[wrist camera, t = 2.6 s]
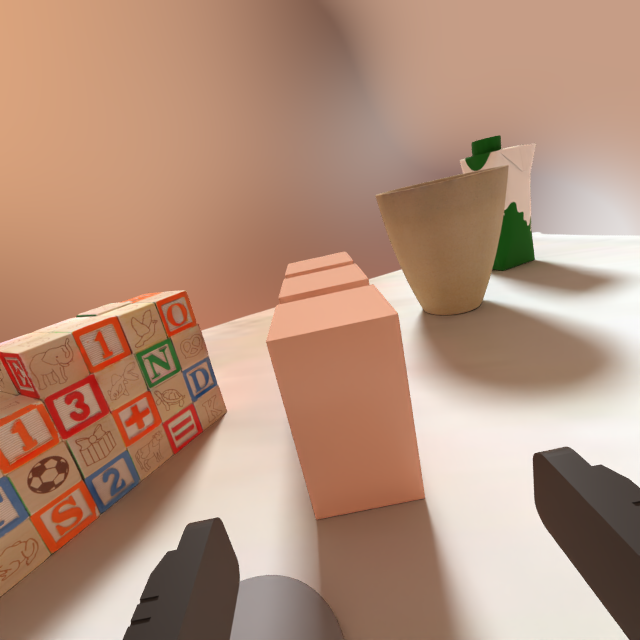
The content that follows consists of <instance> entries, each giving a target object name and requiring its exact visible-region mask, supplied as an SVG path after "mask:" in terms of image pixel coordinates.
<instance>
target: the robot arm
mask: <svg viewBox="0 0 640 640" xmlns="http://www.w3.org/2000/svg"><path fill="white" fill-rule="evenodd" d="M533 476H534V499H535V505H536V509H537V511H538V514H539V516H540V518H541V520H542V522H543V524H544V526H545V527H546V529H547V530H548V532H549V533H550V534H551V536H552V537H553V538H554V540H555V541H556V542H557V544H558V545H559V546H560V548H561V549H562V550H563V552H564V553H565V554H566V556H567V557H568V558H569V560H570V561H571V562H572V564H573V565H574V566H575V568H576V569H577V570H578V572H579V573H580V574H581V576H582V577H583V578H584V580H585V581H586V582H587V584H588V585H589V586H590V588H591V589H592V590H593V592H594V593H595V594H596V596H597V597H598V598H599V600H600V601H601V602H602V604H603V605H604V606H605V608H606V609H607V610H608V612H609V613H610V614H611V616H612V617H613V618H614V620H615V621H616V622H617V624H618V625H619V626H620V628H621V629H622V630H623V632H624V633H625V634H626V636H627V637H628V638H629V640H640V488H639V487H638V486H637V485H636V484H634V483H633V482H632V481H631V480H630V479H628V478H626V477H624V476H622V475H620V474H618V473H616V472H614V471H613V470H611V469H609V468H607V467H605V466H603V465H596V466H591V465H590V464H589V463H587V462H586V461H585V460H584V459H583V458H582V457H581V456H580V455H579V454H578V453H576V452H575V451H574V450H573V449H571V448H569V447H562V448H557V449H553V450H548V451H543V452H538V453H535V454H534V456H533ZM239 582H240V574H239V565H238V560H237V557H236V555H235V552H234V550H233V547H232V545H231V542H230V540H229V537H228V535H227V532H226V530H225V527H224V525H223V522H222V520H221V519H220V518H213V519H208V520H203V521H198V522H193V523H189V524H188V525H187V526H186V528H185V530H184V532H183V535H182V537H181V540H180V542H179V545H178V548H177V550H173V551H168V552H167V553H166V555H165V556H164V557H163V558H162V560H161V561H160V562H159V564H158V565H157V566H156V568H155V569H154V570H153V572H152V573H151V575H150V577H149V579H148V582H147V584H146V586H145V589H144V591H143V593H142V596H141V598H140V604H138V605H137V607H136V610H135V612H134V614H133V617H132V619H131V625H130V627H128V628H127V631H126V633H125V635H124V638H123V640H230V636H231V630H232V625H233V619H234V613H235V608H236V602H237V597H238V591H239Z"/></svg>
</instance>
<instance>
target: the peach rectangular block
mask: <svg viewBox="0 0 640 640" xmlns="http://www.w3.org/2000/svg"><path fill="white" fill-rule="evenodd" d="M352 264H354V263H353V260H352V259H351V257H350V256H349V255H348V254H347V253H346V252H341V253H336V254H331V255H327V256H322V257H318V258H313V259H309V260H304V261H299V262H295V263H290V264H288V266H287V270H286V273H285V277H286V279H287V278H292V277H297V276H301V275H306V274H310V273H315V272H320V271H324V270H329V269H333V268H338V267H343V266H347V265H352Z"/></svg>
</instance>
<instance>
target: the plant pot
mask: <svg viewBox="0 0 640 640" xmlns="http://www.w3.org/2000/svg"><path fill="white" fill-rule="evenodd" d="M508 168H509V165H504V166H498V167H493V168H488V169H483V170H478V171H474V172H469V173H464V174H460V175H455V176H451V177H447V178H443V179H438V180H434V181H430V182H425V183H421V184H417V185H412V186H408V187H404V188H400V189H396V190H392V191H388V192H384V193H381V194H377V195H376V198H377V202H378V206H379V209H380V212H381V215H382V218H383V221H384V225H385V228H386V231H387V234H388V237H389V239H390V242H391V244H392V247H393V249H394V252H395V254H396V257H397V259H398V262H399V263H400V266H401V268H402V270H403V272H404V275H405V277H406V279H407V281H408V283H409V285H410V287H411V289H412V290H413V292H414V294H415V296H416V298H417V300H418V301H419V303H420V305H421V306H422V308H423V310H424V311H426V312H427V313H430V314H436V315H453V314H460V313H464V312H468V311H471V310H473V309H475V308H477V307H479V306H480V305H481V303H482V300H483V298H484V295H485V292H486V288H487V285H488V282H489V279H490V275H491V272H492V268H493V264H494V260H495V256H496V252H497V247H498V242H499V238H500V233H501V227H502V221H503V215H504V208H505V199H506V190H507V180H508Z"/></svg>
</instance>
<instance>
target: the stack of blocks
mask: <svg viewBox="0 0 640 640" xmlns="http://www.w3.org/2000/svg"><path fill="white" fill-rule="evenodd" d="M226 412H227V409H226V406H225V403H224V401H223V398H222V394H221V391H220V388H219V386H218V384H217V381H216V377H215V375H214V372H213V369H212V365H211V362H210V359H209V356H208V351H207V348H206V344H205V342H204V338H203V336H202V332H201V330H200V327H199V324H197V323H196V319H195V316H194V313H193V310H192V307H191V304H190V301H189V298H188V295H187V292H186V291H185V290H184V291H170V292H163V293H161V292H160V293H151V294H143V295H141V296H137V297H135V298H132V299H129V300H126V301H123V302H120V303H111V304H108V305H104V306H102V307H99V308H96V309H93V310H90V311H87V312H84V313H81V314H78V315H77V316H76V318H71V319H68V320H65V321H62V322H60V323H57V324H54V325H51V326H48V327H46V328H43V329H40V330H37V331H35V332H33V333H29V334H26V335H23V336H20V337H17V338H14V339H11V340H8V341H5V342H3V343H0V597H1V596H2V595H3V594H5V593H6V592H7V591H8V590H10V589H11V588H12V587H13V586H14V585H16V584H17V583H18V582H19V581H21V580H22V579H23V578H24V577H26V576H27V575H28V574H29V573H31V572H32V571H33V570H34V569H35V568H37V567H38V566H39V565H40V564H41V563H42V562H44V561H45V560H46V559H47V558H48V557H49V556H50V555H51V554H52V553H54V552H56V551H57V550H58V549H60V548H61V547H62V546H64V545H65V544H66V543H67V542H68V541H70V540H71V539H72V538H73V537H75V536H76V535H77V534H78V533H79V532H81V531H82V530H83V529H84V528H86V527H87V526H88V525H89V524H91V523H92V522H93V521H94V520H96V519H97V518H98V517H99V515H100V514H101V513H103V512H104V511H106V510H107V509H108V508H109V507H111V506H112V505H113V504H114V503H115V502H117V501H118V500H119V499H120V498H122V497H123V496H124V495H125V494H126V493H128V492H129V491H130V490H131V489H132V488H134V487H135V486H136V485H138V484H139V482H140V481H142V480H143V479H144V478H146V477H147V476H148V475H149V474H151V473H152V472H153V471H154V470H155V469H157V468H158V467H159V466H160V465H162V464H163V463H164V462H165V461H166V460H168V459H169V458H170V457H171V456H172V455H174V454H176V453H177V452H178V451H179V450H181V449H182V448H183V447H184V446H186V445H187V444H188V443H189V442H190V441H192V440H193V439H194V438H195V437H197V436H198V435H199V434H200V433H201V432H203V431H204V430H205V429H207V428H208V427H209V426H210V425H211V424H213V423H214V422H215V421H216V420H218V419H219V418H220V417H221V416H222V415H224V414H225V413H226Z"/></svg>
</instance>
